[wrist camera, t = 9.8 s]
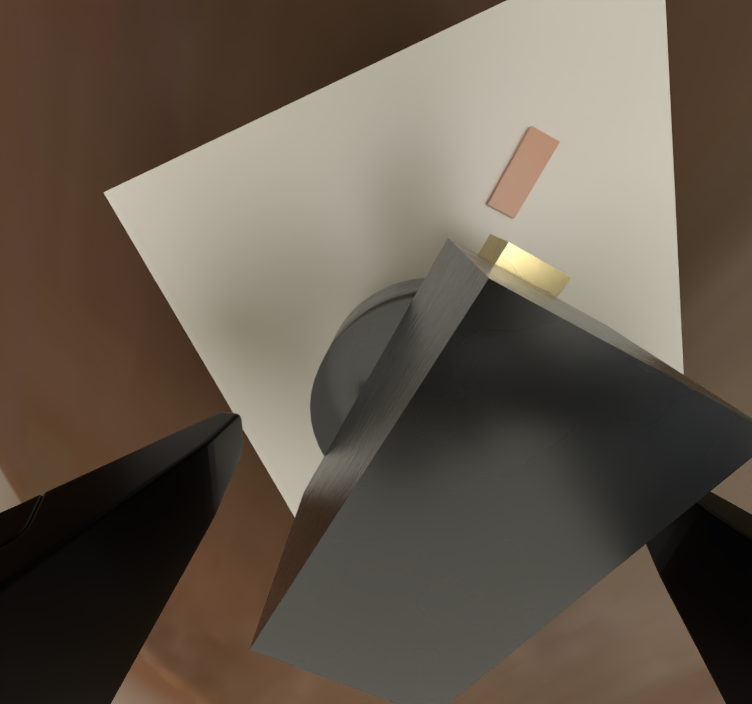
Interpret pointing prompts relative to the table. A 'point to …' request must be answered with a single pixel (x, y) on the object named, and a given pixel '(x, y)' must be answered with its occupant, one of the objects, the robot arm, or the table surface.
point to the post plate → (421, 199)
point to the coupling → (478, 475)
